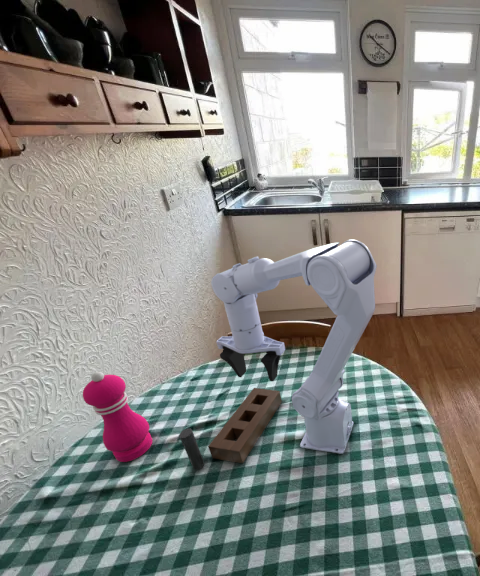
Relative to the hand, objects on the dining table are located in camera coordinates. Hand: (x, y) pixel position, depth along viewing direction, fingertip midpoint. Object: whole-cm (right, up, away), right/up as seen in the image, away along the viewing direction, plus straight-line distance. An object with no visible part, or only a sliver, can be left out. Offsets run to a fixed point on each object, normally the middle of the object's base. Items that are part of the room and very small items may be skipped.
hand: (258, 376), depth 69 cm
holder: (-2, -11, 0) cm, 12 cm away
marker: (-9, -15, -8) cm, 19 cm away
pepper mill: (-24, -14, -4) cm, 28 cm away
